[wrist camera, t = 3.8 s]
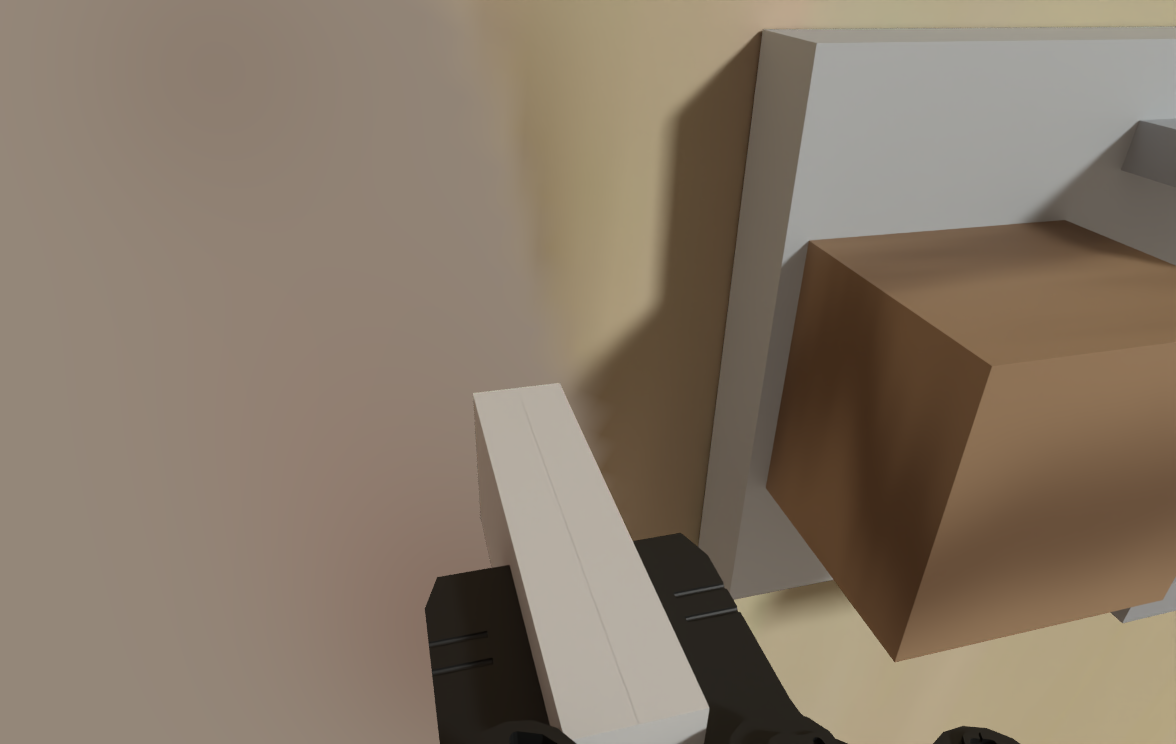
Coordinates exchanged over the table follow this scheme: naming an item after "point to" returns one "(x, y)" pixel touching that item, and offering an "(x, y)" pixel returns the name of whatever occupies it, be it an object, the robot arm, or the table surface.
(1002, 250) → the block
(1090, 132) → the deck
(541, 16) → the table surface
